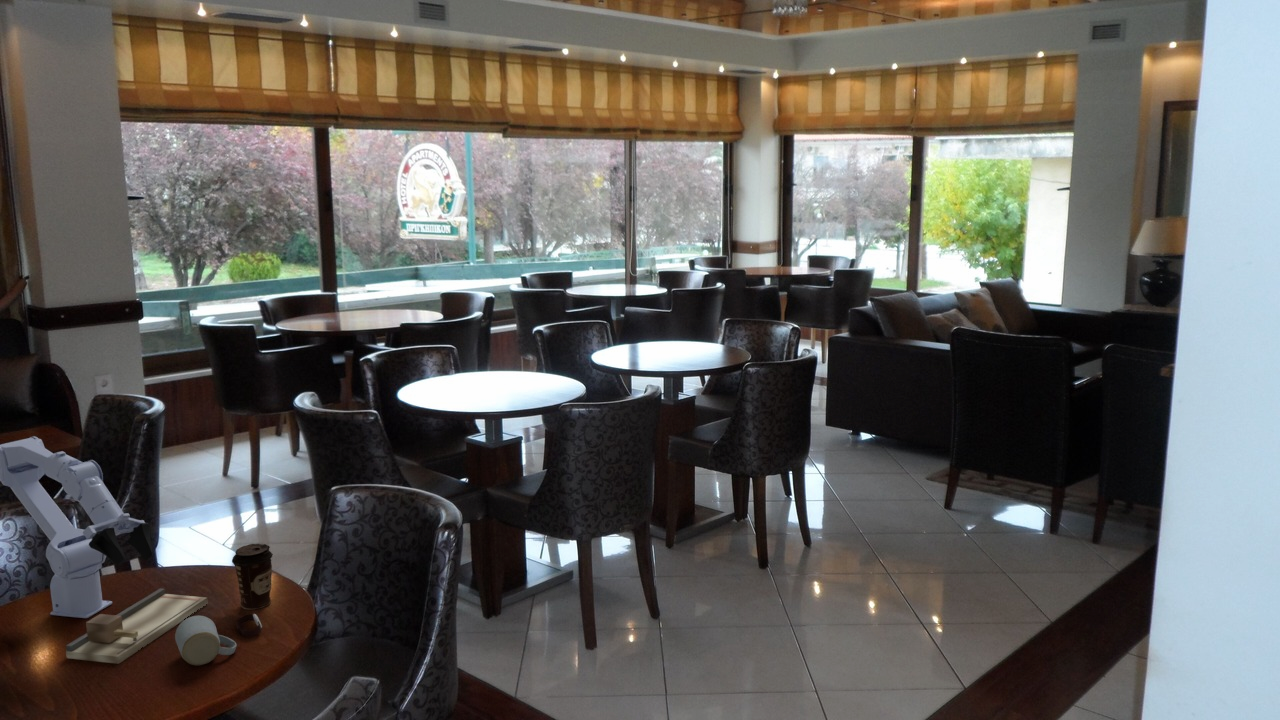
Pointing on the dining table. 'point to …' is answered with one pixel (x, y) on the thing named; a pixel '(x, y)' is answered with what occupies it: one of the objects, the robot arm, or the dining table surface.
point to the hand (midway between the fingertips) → (136, 559)
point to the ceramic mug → (201, 641)
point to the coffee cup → (254, 575)
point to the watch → (245, 619)
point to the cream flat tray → (138, 627)
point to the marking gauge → (107, 629)
